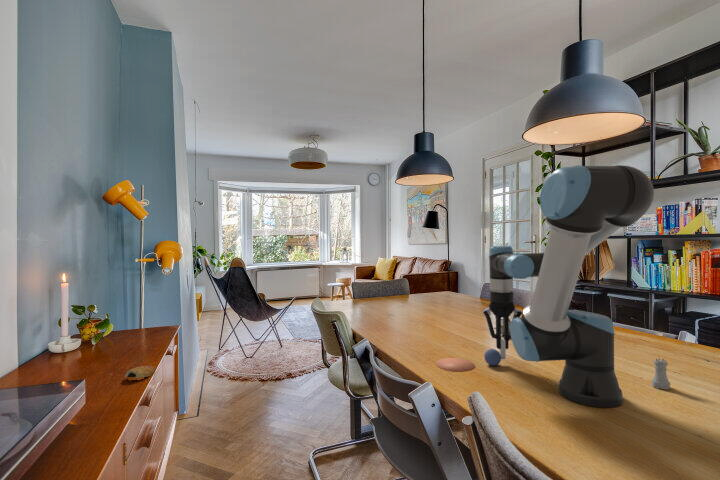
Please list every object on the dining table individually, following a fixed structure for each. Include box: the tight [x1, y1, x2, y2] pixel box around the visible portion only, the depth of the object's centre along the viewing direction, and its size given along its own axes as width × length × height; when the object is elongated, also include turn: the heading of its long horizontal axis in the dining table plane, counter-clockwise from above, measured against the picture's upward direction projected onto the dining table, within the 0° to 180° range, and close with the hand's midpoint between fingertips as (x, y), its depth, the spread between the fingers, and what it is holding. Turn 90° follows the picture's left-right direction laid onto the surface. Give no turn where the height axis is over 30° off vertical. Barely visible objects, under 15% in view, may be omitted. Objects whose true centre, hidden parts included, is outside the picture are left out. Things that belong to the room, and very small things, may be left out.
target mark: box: [436, 357, 476, 372], centre depth 130 cm, size 13×13×1 cm
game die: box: [493, 318, 512, 336], centre depth 165 cm, size 9×8×10 cm
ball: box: [484, 348, 502, 366], centre depth 128 cm, size 6×6×6 cm
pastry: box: [124, 365, 156, 378], centre depth 126 cm, size 9×7×4 cm
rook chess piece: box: [651, 357, 671, 390], centre depth 107 cm, size 4×4×8 cm
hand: (502, 357), depth 129 cm, fingers closed
